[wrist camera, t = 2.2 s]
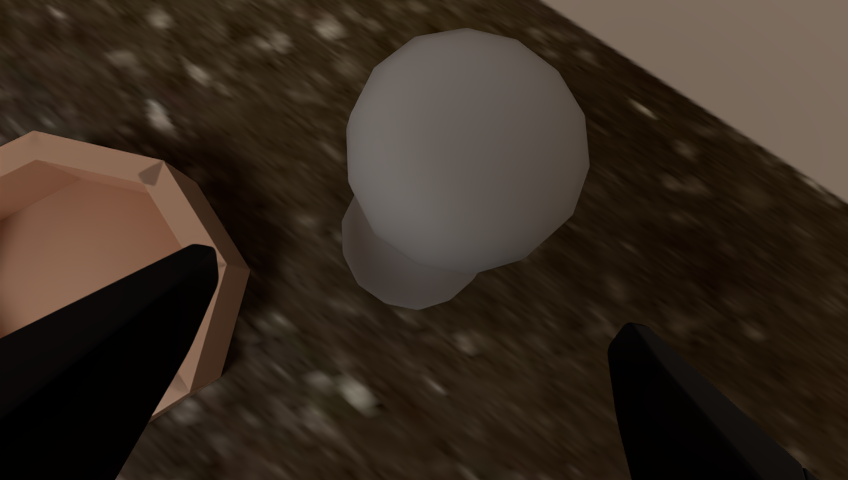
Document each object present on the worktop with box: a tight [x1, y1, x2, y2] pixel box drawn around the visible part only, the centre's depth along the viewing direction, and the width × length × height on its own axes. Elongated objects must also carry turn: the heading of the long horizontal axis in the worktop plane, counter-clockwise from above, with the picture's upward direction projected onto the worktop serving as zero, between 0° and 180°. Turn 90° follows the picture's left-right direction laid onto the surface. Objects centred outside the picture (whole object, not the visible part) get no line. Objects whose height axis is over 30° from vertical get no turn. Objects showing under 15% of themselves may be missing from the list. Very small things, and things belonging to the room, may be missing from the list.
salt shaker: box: [342, 28, 590, 310], centre depth 13 cm, size 6×6×13 cm
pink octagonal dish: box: [0, 131, 251, 423], centre depth 16 cm, size 11×11×3 cm
